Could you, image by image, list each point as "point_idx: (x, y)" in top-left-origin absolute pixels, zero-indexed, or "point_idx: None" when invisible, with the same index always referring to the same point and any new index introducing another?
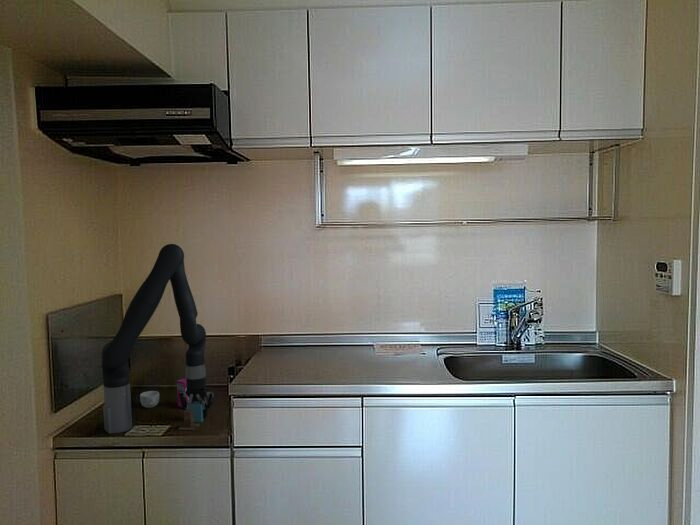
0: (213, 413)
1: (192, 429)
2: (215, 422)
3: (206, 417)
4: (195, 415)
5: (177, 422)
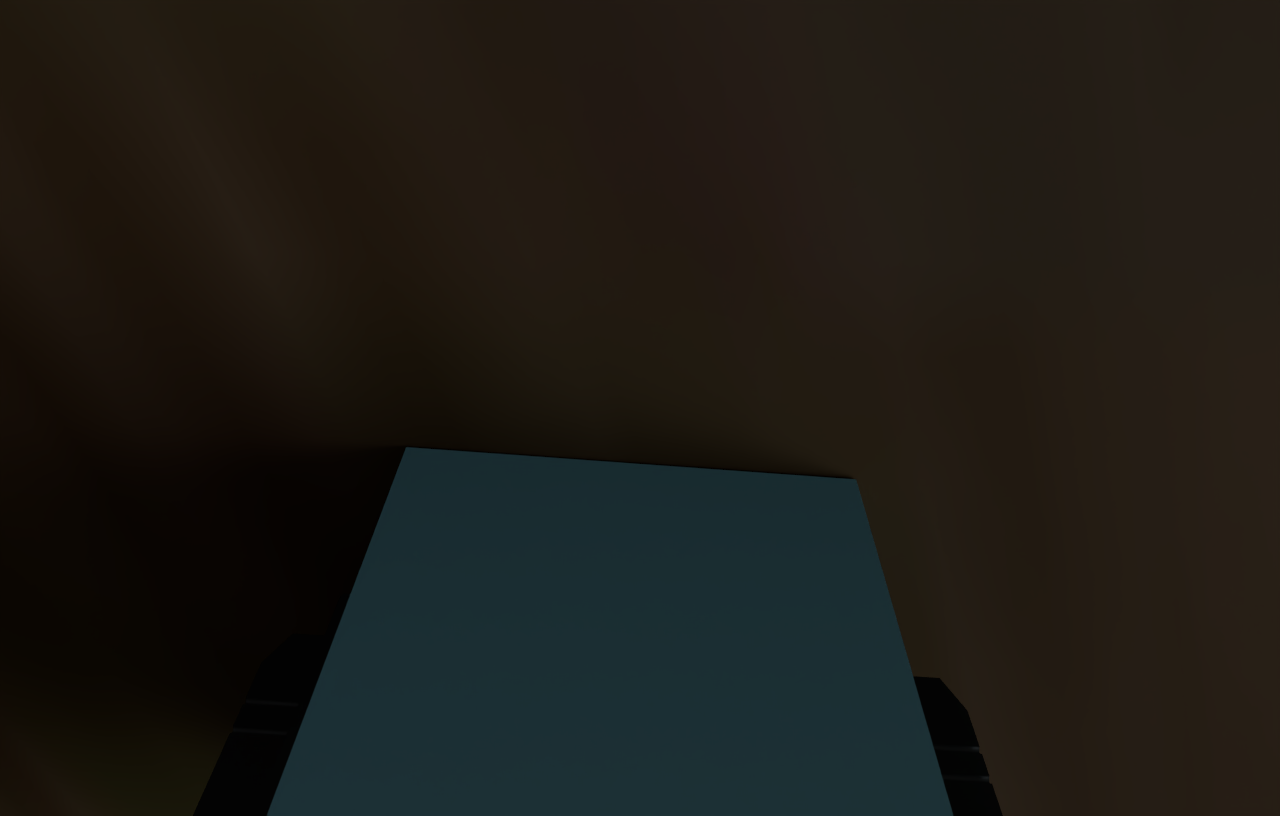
0: (1043, 63)
1: None
2: (1186, 808)
3: (852, 493)
4: None
5: (117, 796)
